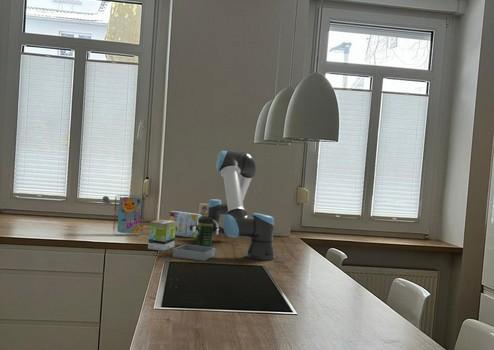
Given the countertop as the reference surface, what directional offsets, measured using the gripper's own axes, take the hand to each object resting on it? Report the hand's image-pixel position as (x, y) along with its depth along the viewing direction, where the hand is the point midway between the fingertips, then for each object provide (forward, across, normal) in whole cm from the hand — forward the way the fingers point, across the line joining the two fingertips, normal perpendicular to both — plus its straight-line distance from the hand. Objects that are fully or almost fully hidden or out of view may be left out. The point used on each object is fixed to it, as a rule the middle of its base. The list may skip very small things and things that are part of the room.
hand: (204, 231), depth 288 cm
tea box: (+9, +22, -10) cm, 26 cm away
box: (-20, +54, -10) cm, 59 cm away
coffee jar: (+3, -1, -10) cm, 11 cm away
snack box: (-39, +20, -10) cm, 45 cm away
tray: (+23, +1, -10) cm, 25 cm away
